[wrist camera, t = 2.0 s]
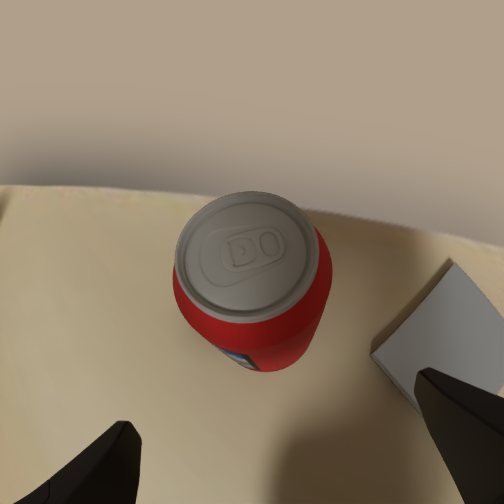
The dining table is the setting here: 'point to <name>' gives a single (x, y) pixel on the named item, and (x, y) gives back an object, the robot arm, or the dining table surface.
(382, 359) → the trivet
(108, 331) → the dining table surface
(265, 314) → the beverage can
